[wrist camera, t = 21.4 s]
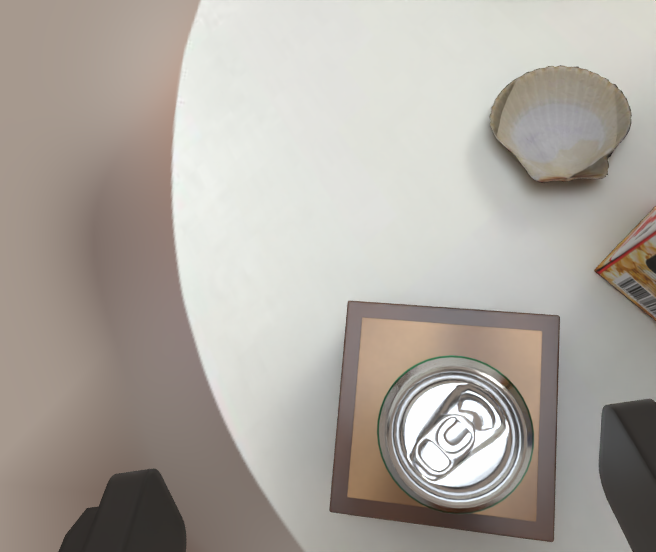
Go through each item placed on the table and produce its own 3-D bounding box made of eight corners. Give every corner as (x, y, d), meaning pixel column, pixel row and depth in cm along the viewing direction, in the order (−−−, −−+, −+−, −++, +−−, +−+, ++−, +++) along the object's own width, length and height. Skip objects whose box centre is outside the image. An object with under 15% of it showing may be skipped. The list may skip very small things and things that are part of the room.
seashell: (601, 93, 40) (485, 78, 39) (626, 63, 37) (502, 46, 36) (610, 203, 37) (485, 188, 37) (639, 179, 34) (504, 163, 34)
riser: (345, 492, 36) (328, 513, 30) (360, 313, 38) (347, 299, 32) (532, 516, 34) (555, 544, 28) (538, 327, 36) (561, 314, 30)
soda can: (518, 417, 29) (577, 437, 18) (446, 491, 29) (459, 559, 18) (442, 346, 31) (451, 320, 19) (373, 416, 31) (340, 433, 19)
